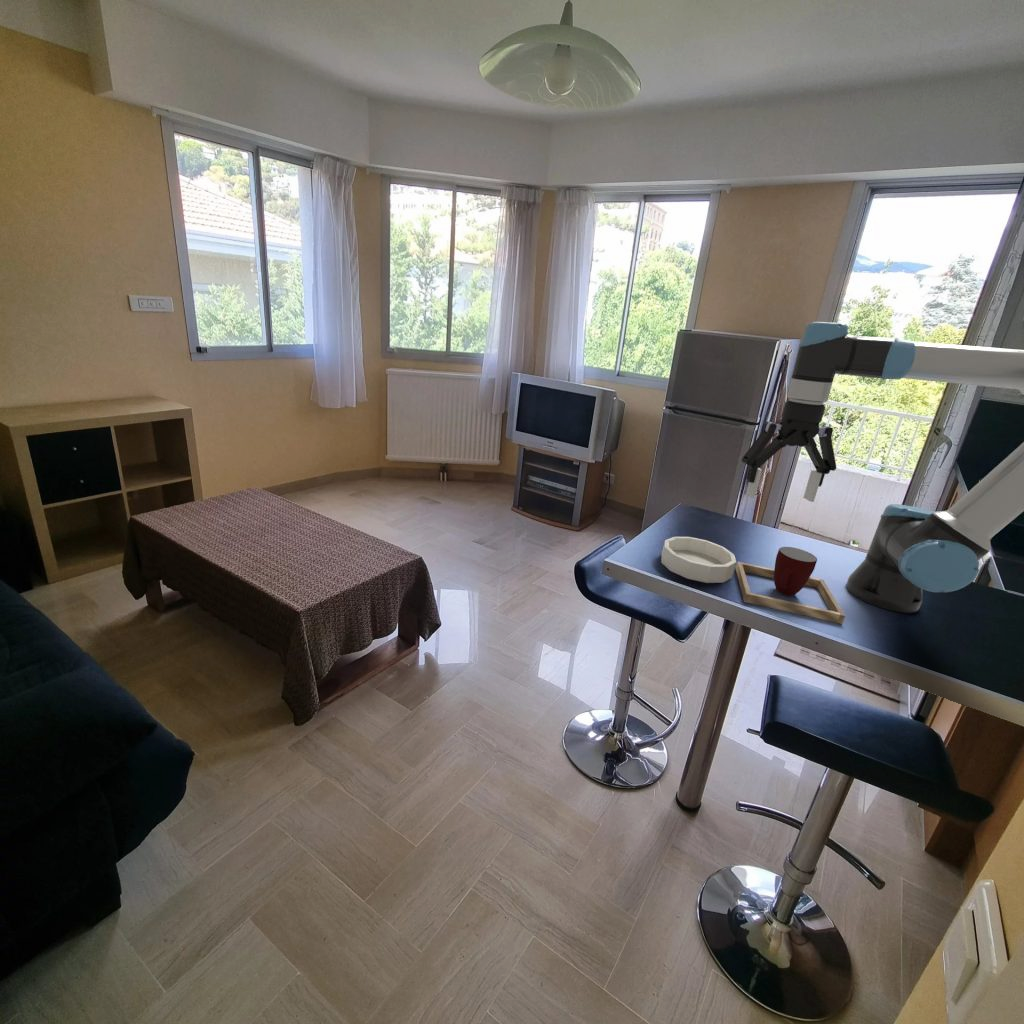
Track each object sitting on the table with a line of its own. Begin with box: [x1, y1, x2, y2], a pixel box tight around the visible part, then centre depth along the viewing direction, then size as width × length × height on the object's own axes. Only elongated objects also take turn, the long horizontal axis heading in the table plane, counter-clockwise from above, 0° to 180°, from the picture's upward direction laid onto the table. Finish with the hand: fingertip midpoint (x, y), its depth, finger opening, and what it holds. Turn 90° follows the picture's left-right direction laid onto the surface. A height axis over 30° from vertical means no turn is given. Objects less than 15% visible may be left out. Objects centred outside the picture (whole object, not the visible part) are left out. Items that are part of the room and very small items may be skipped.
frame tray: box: [734, 561, 846, 625], centre depth 121 cm, size 20×18×2 cm
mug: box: [773, 546, 818, 597], centre depth 120 cm, size 10×8×10 cm
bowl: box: [660, 536, 737, 584], centre depth 130 cm, size 17×17×4 cm
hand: (779, 498), depth 115 cm, fingers open, 13 cm apart
